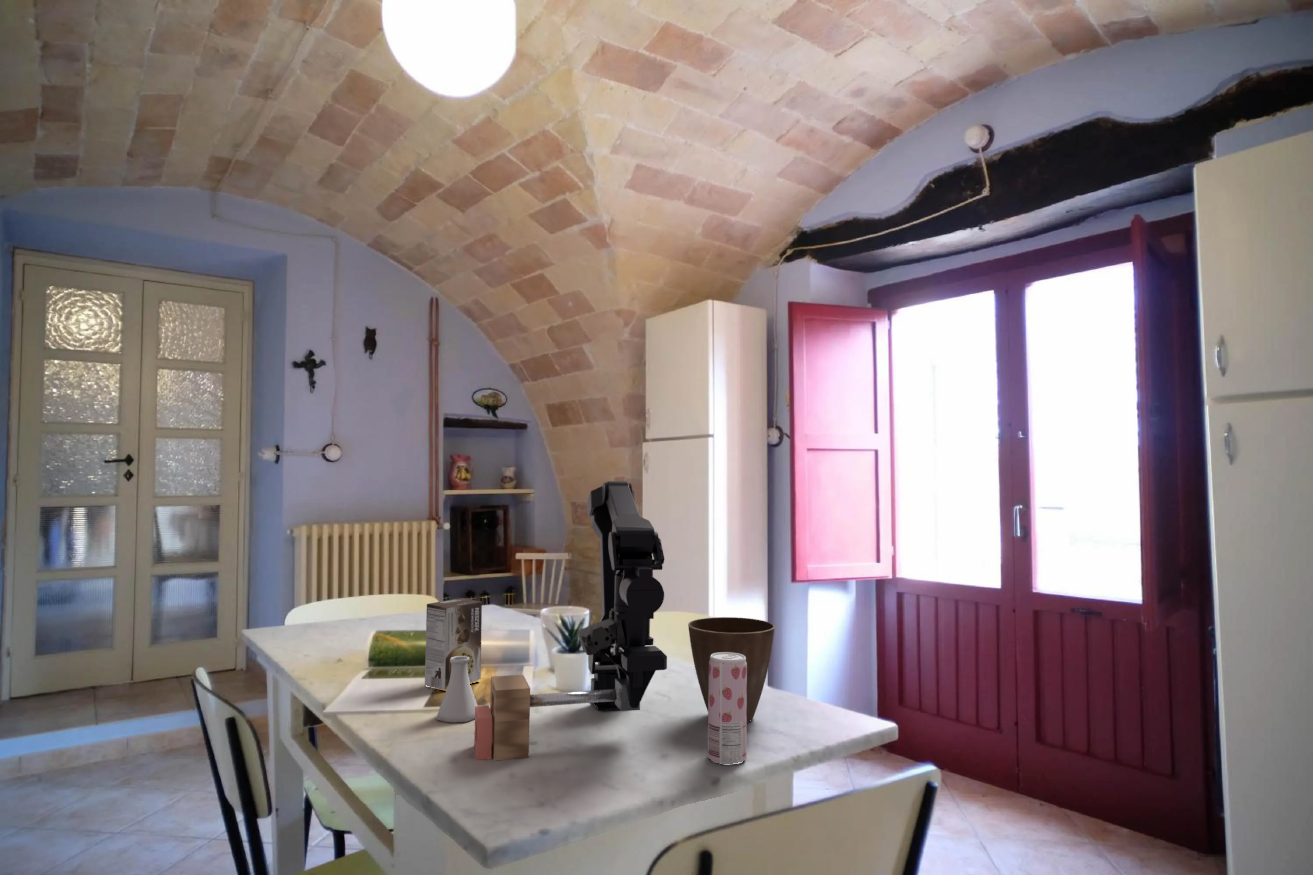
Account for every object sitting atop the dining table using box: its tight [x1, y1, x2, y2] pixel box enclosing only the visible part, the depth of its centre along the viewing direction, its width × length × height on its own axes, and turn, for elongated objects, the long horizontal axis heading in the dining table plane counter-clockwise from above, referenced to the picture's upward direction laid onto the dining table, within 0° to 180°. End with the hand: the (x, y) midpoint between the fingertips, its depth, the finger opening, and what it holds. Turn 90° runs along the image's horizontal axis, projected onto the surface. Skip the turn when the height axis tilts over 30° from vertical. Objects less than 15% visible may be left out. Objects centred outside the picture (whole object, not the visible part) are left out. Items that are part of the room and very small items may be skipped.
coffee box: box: [424, 597, 483, 690], centre depth 153 cm, size 9×6×16 cm
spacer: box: [473, 704, 492, 761], centre depth 116 cm, size 2×6×6 cm, turn 17°
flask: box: [435, 656, 479, 723], centre depth 133 cm, size 7×7×10 cm
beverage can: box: [707, 652, 748, 764], centre depth 115 cm, size 6×6×15 cm
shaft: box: [530, 678, 641, 712], centre depth 120 cm, size 20×4×4 cm, turn 107°
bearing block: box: [489, 674, 531, 761], centre depth 117 cm, size 5×8×10 cm, turn 17°
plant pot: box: [687, 616, 776, 723], centre depth 135 cm, size 15×15×16 cm
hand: (630, 703), depth 123 cm, fingers closed on shaft, 4 cm apart
